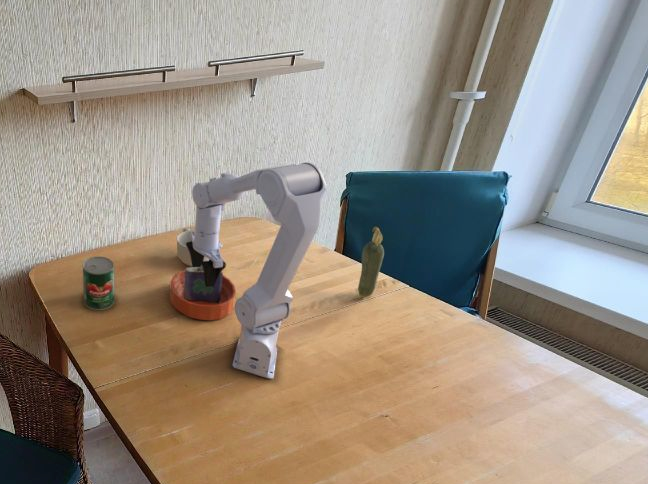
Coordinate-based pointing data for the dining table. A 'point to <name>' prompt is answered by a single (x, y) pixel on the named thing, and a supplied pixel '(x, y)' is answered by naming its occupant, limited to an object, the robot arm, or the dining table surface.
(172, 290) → the terracotta plant saucer
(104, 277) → the canned tomato
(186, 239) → the teacup
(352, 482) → the dining table surface
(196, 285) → the flask
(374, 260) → the vegetable
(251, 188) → the robot arm
